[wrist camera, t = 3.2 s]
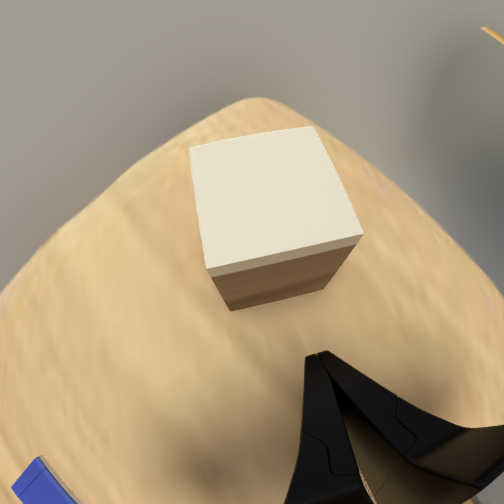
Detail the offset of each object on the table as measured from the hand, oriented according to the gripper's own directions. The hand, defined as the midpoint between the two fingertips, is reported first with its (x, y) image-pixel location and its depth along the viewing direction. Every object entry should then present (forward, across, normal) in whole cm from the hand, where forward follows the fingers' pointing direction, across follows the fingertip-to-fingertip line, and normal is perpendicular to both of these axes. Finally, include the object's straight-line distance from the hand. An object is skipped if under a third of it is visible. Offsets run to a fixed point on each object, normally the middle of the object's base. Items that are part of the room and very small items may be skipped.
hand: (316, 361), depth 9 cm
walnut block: (+10, 0, 0) cm, 10 cm away
